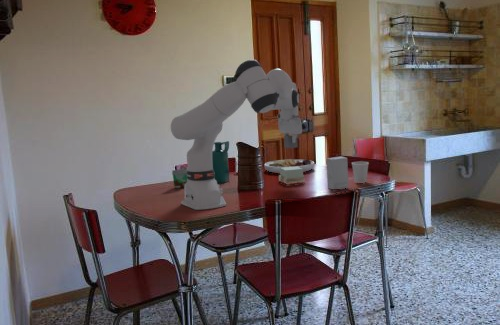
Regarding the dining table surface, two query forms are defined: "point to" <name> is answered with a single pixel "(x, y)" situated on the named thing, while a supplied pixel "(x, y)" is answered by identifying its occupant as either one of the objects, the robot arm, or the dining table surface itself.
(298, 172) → the tower top
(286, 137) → the grey block
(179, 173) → the food container
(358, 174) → the dixie cup
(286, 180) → the tower base
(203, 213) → the dining table surface
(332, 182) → the skincare box
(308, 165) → the bowl
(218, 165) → the teal gas canister
